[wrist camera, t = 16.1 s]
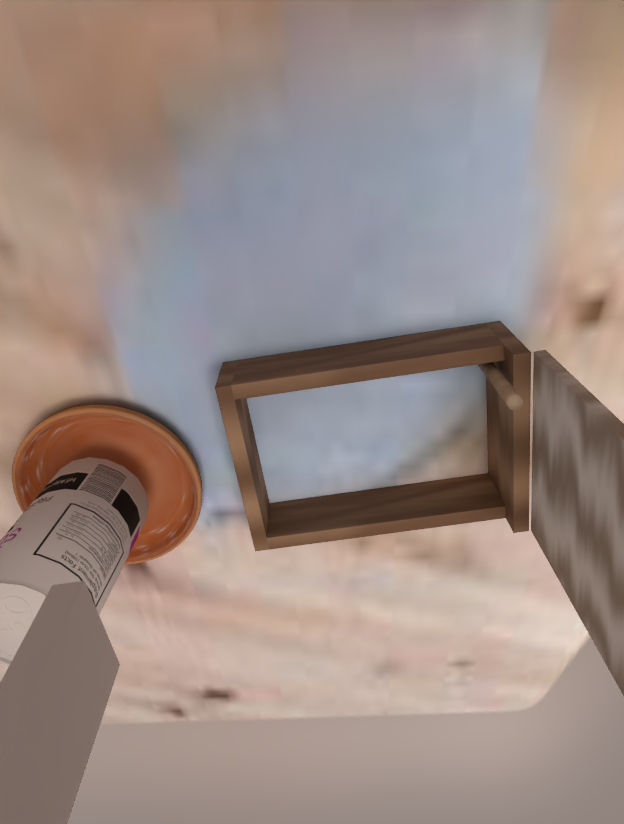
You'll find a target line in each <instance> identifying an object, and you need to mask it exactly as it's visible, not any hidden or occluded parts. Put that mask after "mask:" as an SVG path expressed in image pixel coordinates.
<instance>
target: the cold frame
mask: <svg viewBox="0 0 624 824" xmlns="http://www.w3.org/2000/svg"><path fill="white" fill-rule="evenodd" d="M476 364H478V365H479V367H480V368H481V370H482V371H483V372H484V374H485V375H486V386H487V428H488V470H489V473H488V474H481V475H474V476H467V477H459V478H452V479H445V480H437V481H430V482H423V483H416V484H408V485H401V486H394V487H386V488H379V489H372V490H365V491H357V492H350V493H343V494H335V495H328V496H321V497H314V498H306V499H299V500H292V501H284V502H277V503H270V504H269V499H268V495H267V490H266V486H265V481H264V477H263V472H262V468H261V463H260V459H259V454H258V450H257V446H256V441H255V437H254V432H253V428H252V423H251V419H250V414H249V410H248V405H247V401H246V398H251V397H258V396H265V395H271V394H278V393H285V392H292V391H299V390H305V389H312V388H319V387H326V386H333V385H339V384H346V383H353V382H360V381H367V380H373V379H380V378H387V377H394V376H401V375H408V374H414V373H421V372H428V371H435V370H442V369H448V368H455V367H462V366H469V365H476ZM530 384H531V352H530V351H529V350H528V349H527V348H526V347H525V346H524V345H523V344H522V343H521V342H520V341H519V340H518V339H517V338H516V337H515V336H514V335H513V334H512V332H511V331H510V330H509V329H508V328H507V327H506V326H505V325H504V324H503V323H502V322H501V321H497V322H490V323H484V324H477V325H470V326H464V327H457V328H450V329H444V330H437V331H430V332H424V333H417V334H410V335H404V336H397V337H390V338H384V339H377V340H370V341H364V342H357V343H350V344H344V345H337V346H330V347H324V348H317V349H310V350H304V351H297V352H291V353H284V354H277V355H271V356H264V357H257V358H251V359H244V360H237V361H231V362H224V363H223V364H222V367H221V370H220V374H219V377H218V380H217V383H216V386H215V390H216V394H217V398H218V402H219V406H220V410H221V414H222V418H223V422H224V426H225V430H226V434H227V438H228V442H229V446H230V450H231V454H232V458H233V462H234V467H235V471H236V475H237V479H238V483H239V487H240V491H241V495H242V499H243V503H244V507H245V511H246V515H247V519H248V523H249V527H250V531H251V535H252V539H253V543H254V547H255V551H260V550H268V549H275V548H283V547H290V546H298V545H305V544H313V543H320V542H328V541H335V540H343V539H350V538H358V537H365V536H373V535H380V534H388V533H395V532H403V531H410V530H418V529H425V528H433V527H441V526H448V525H456V524H463V523H471V522H478V521H486V520H493V519H501V518H506V519H507V521H508V523H509V525H510V527H511V529H512V531H513V533H516V532H524V531H529V467H530ZM531 531H532V533H533V535H534V536H535V538H536V540H537V542H538V543H539V545H540V547H541V549H542V551H543V552H544V554H545V556H546V558H547V560H548V561H549V563H550V565H551V567H552V569H553V570H554V572H555V574H556V576H557V577H558V579H559V581H560V583H561V585H562V586H563V588H564V590H565V592H566V594H567V595H568V597H569V599H570V601H571V602H572V604H573V606H574V608H575V610H576V611H577V613H578V615H579V617H580V619H581V620H582V622H583V624H584V626H585V627H586V629H587V631H588V633H589V635H590V636H591V638H592V640H593V642H594V644H595V645H596V647H597V649H598V651H599V652H600V654H601V656H602V658H603V659H604V661H605V663H606V665H607V667H608V669H609V670H610V672H611V674H612V676H613V677H614V679H615V681H616V683H617V685H618V686H619V688H620V690H621V692H622V694H623V695H624V424H623V423H622V422H621V421H620V420H619V419H618V418H617V417H616V416H615V415H614V414H613V413H612V412H611V411H609V410H608V409H607V408H606V407H605V406H604V405H603V404H602V403H601V402H600V401H599V400H598V399H597V398H596V397H595V396H594V395H593V394H591V393H590V392H589V391H588V390H587V389H586V388H585V387H584V386H583V385H582V384H581V383H580V382H579V381H578V380H577V379H576V378H575V377H574V376H572V375H571V374H570V373H569V372H568V371H567V370H566V369H565V368H564V367H563V366H562V365H561V364H560V363H559V362H558V361H557V360H556V359H555V358H553V357H552V356H551V355H550V354H549V353H548V352H547V351H546V350H542V351H536V352H534V374H533V443H532V512H531Z"/></svg>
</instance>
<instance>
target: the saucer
mask: <svg viewBox="0 0 624 824" xmlns="http://www.w3.org/2000/svg"><path fill="white" fill-rule="evenodd" d="M88 457H91V458H100V459H107V460H110V461H112V462H115V463H117V464H119V465H122V466H124V467H125V468H126V469H127V470H129V471H130V472H131V473H132V474H134V475H135V476H136V477H137V478H138V479H139V481H140V483H141V484H142V486H143V487H144V489H145V490H146V493H147V498H148V502H149V510H148V515H147V519H146V521H145V523H144V525H143V527H142V529H141V531H140V533H139V535H138V537H137V540H136V542H135V544H134V546H133V548H132V550H131V552H130V554H129V556H128V558H127V560H126V562H125V564H134V563H140V562H145V561H149V560H152V559H155V558H157V557H160V556H162V555H164V554H166V553H168V552H170V551H171V550H173V549H174V548H175V547H177V546H178V545H179V544H180V543H181V542H182V541H184V540H185V538H186V537H187V536H188V535H189V534H190V532H191V531H192V529H193V528H194V526H195V524H196V522H197V520H198V517H199V514H200V510H201V504H202V482H201V477H200V473H199V470H198V467H197V465H196V463H195V461H194V458H193V457H192V455H191V453H190V452H189V450H188V449H187V448H186V446H185V445H184V444H183V443H182V441H181V440H180V439H179V438H178V437H177V436H176V435H175V434H174V433H172V432H171V431H170V430H169V429H168V428H166V427H165V426H164V425H162V424H160V423H159V422H157V421H156V420H154V419H152V418H150V417H148V416H146V415H144V414H141V413H139V412H136V411H133V410H130V409H126V408H122V407H117V406H110V405H84V406H78V407H73V408H69V409H66V410H63V411H61V412H58V413H56V414H54V415H52V416H50V417H49V418H47V419H46V420H44V421H43V422H41V423H40V424H38V425H37V426H36V427H35V428H34V429H32V430H31V431H30V432H29V433H28V435H27V436H26V437H25V438H24V440H23V441H22V443H21V444H20V446H19V448H18V450H17V452H16V455H15V458H14V462H13V467H12V483H13V489H14V493H15V496H16V499H17V501H18V504H19V506H20V508H21V510H22V511H23V513H24V512H25V511H26V509H27V508H28V507H29V506H30V505H31V503H32V502H33V501H34V500H35V499H36V497H37V496H38V495H39V494H40V493H41V491H42V490H43V489H44V488H45V487H46V485H47V484H48V483H49V482H50V481H51V479H52V478H53V477H54V476H55V475H56V473H57V472H58V471H59V470H60V469H61V468H62V467H64V466H66V465H67V464H69V463H70V462H72V461H74V460H79V459H83V458H88Z"/></svg>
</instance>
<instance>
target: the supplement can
mask: <svg viewBox="0 0 624 824" xmlns="http://www.w3.org/2000/svg"><path fill="white" fill-rule="evenodd" d="M148 510H149V502H148V498H147V493H146V490H145V489H144V487H143V486H142V484H141V483H140V481H139V479H138V478H137V477H136V476H135V475H134V474H132V473H131V472H130V471H129V470H127V469H126V468H125V467H124V466H122V465H119V464H117V463H115V462H112V461H110V460H107V459H100V458H91V457H88V458H83V459H79V460H74V461H72V462H70V463H69V464H67V465H66V466H64V467H62V468H61V469H60V470H59V471H58V472H57V473H56V475H55V476H54V477H53V478H52V479H51V481H50V482H49V483H48V484H47V485H46V487H45V488H44V489H43V490H42V491H41V493H40V494H39V495H38V496H37V497H36V499H35V500H34V501H33V502H32V503H31V505H30V506H29V507H28V508H27V509H26V511H25V512H24V513H23V514H22V515H21V517H20V518H19V519H18V520H17V521H16V523H15V524H14V525H13V526H12V527H11V529H10V530H9V531H8V532H7V533H6V535H5V536H4V537H3V538H2V539H1V541H0V662H2V663H4V664H7V665H10V664H11V662H12V660H13V658H14V656H15V654H16V652H17V650H18V649H19V647H20V645H21V643H22V641H23V639H24V637H25V635H26V634H27V632H28V630H29V628H30V626H31V624H32V622H33V620H34V618H35V617H36V615H37V613H38V611H39V609H40V607H41V605H42V603H43V602H44V600H45V598H46V596H47V594H48V592H49V590H50V588H51V586H52V585H56V584H64V583H71V582H79V581H85V583H86V586H87V588H88V590H89V593H90V595H91V597H92V600H93V602H94V605H95V607H96V609H97V612H98V614H100V612H101V610H102V608H103V606H104V604H105V602H106V600H107V598H108V596H109V594H110V592H111V590H112V588H113V586H114V584H115V582H116V580H117V578H118V576H119V574H120V572H121V570H122V568H123V566H124V564H125V562H126V560H127V558H128V556H129V554H130V552H131V550H132V548H133V546H134V544H135V542H136V540H137V537H138V535H139V533H140V531H141V529H142V527H143V525H144V523H145V521H146V519H147V515H148Z"/></svg>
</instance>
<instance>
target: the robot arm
mask: <svg viewBox="0 0 624 824" xmlns="http://www.w3.org/2000/svg"><path fill="white" fill-rule="evenodd" d="M119 665H120V664H119V662H118V659H117V657H116V654H115V652H114V650H113V647H112V645H111V643H110V640H109V638H108V635H107V633H106V631H105V628H104V626H103V624H102V621H101V619H100V616H99V614H98V612H97V609H96V607H95V605H94V602H93V600H92V597H91V595H90V593H89V590H88V588H87V586H86V583H85V581H79V582H71V583H64V584H56V585H52V586H51V588H50V590H49V592H48V594H47V596H46V598H45V600H44V602H43V603H42V605H41V607H40V609H39V611H38V613H37V615H36V617H35V618H34V620H33V622H32V624H31V626H30V628H29V630H28V632H27V634H26V635H25V637H24V639H23V641H22V643H21V645H20V647H19V649H18V650H17V652H16V654H15V656H14V658H13V660H12V662H11V664H10V666H9V667H8V669H7V671H6V673H5V675H4V677H3V679H2V681H1V682H0V824H67V823H68V819H69V817H70V814H71V811H72V807H73V804H74V801H75V798H76V795H77V792H78V789H79V786H80V783H81V780H82V777H83V774H84V771H85V768H86V765H87V762H88V759H89V756H90V753H91V750H92V747H93V744H94V741H95V738H96V735H97V732H98V729H99V726H100V723H101V720H102V717H103V714H104V711H105V708H106V705H107V702H108V699H109V696H110V693H111V690H112V687H113V683H114V680H115V677H116V674H117V671H118V668H119Z"/></svg>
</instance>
